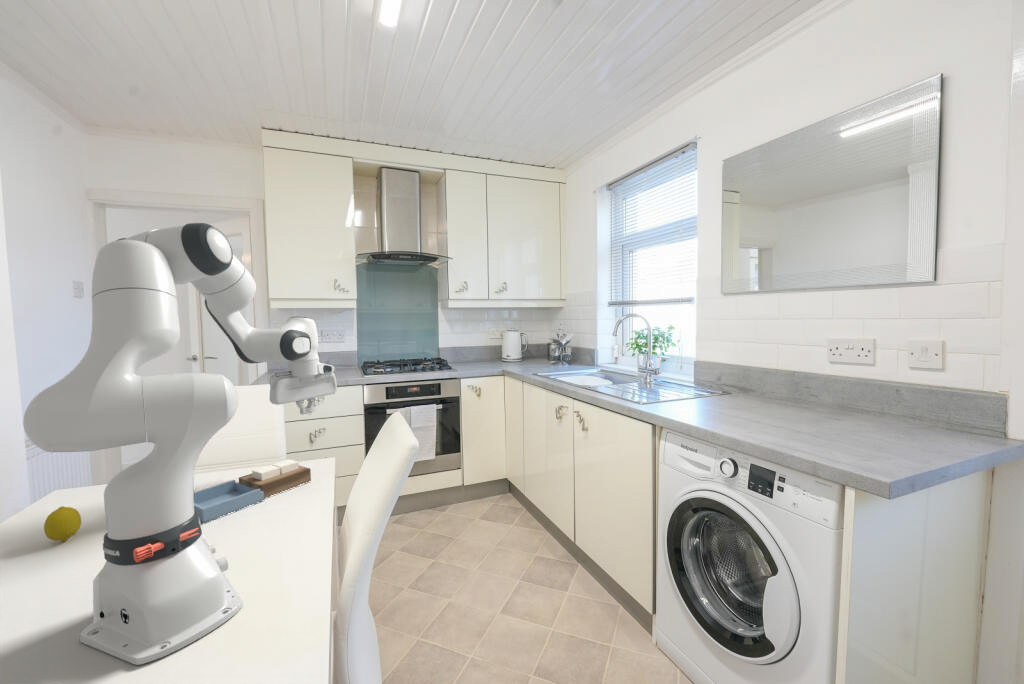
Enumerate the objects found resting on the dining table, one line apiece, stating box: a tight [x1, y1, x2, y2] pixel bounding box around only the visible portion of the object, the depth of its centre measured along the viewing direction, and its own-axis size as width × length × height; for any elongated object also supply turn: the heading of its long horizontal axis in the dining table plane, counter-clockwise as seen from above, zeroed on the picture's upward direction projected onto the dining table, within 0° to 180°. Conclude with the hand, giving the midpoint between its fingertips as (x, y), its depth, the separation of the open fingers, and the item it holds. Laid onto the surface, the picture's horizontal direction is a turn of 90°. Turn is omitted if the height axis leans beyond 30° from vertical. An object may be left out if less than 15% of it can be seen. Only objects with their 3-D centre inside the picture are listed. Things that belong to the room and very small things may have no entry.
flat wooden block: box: [238, 464, 312, 498], centre depth 118 cm, size 12×14×4 cm
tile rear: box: [271, 458, 299, 474], centre depth 121 cm, size 5×5×2 cm
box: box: [194, 479, 265, 524], centre depth 107 cm, size 14×14×4 cm
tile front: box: [251, 464, 280, 480], centre depth 116 cm, size 5×5×2 cm
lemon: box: [43, 506, 82, 543], centre depth 90 cm, size 6×6×8 cm
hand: (306, 413), depth 127 cm, fingers closed
